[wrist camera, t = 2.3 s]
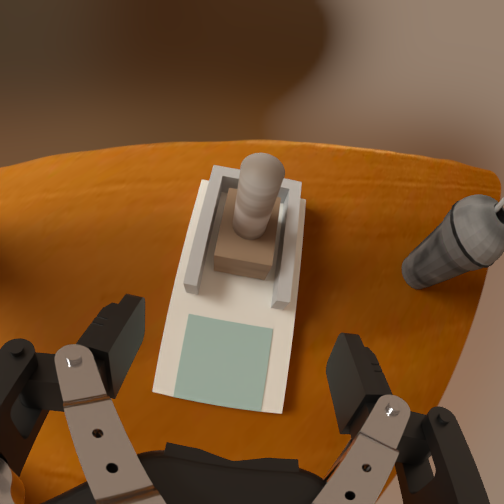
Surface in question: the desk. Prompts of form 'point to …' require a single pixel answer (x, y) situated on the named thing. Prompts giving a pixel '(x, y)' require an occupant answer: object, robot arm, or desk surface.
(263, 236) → the peg with base
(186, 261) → the docking tray
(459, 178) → the desk surface
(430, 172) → the desk surface
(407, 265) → the beverage cup
